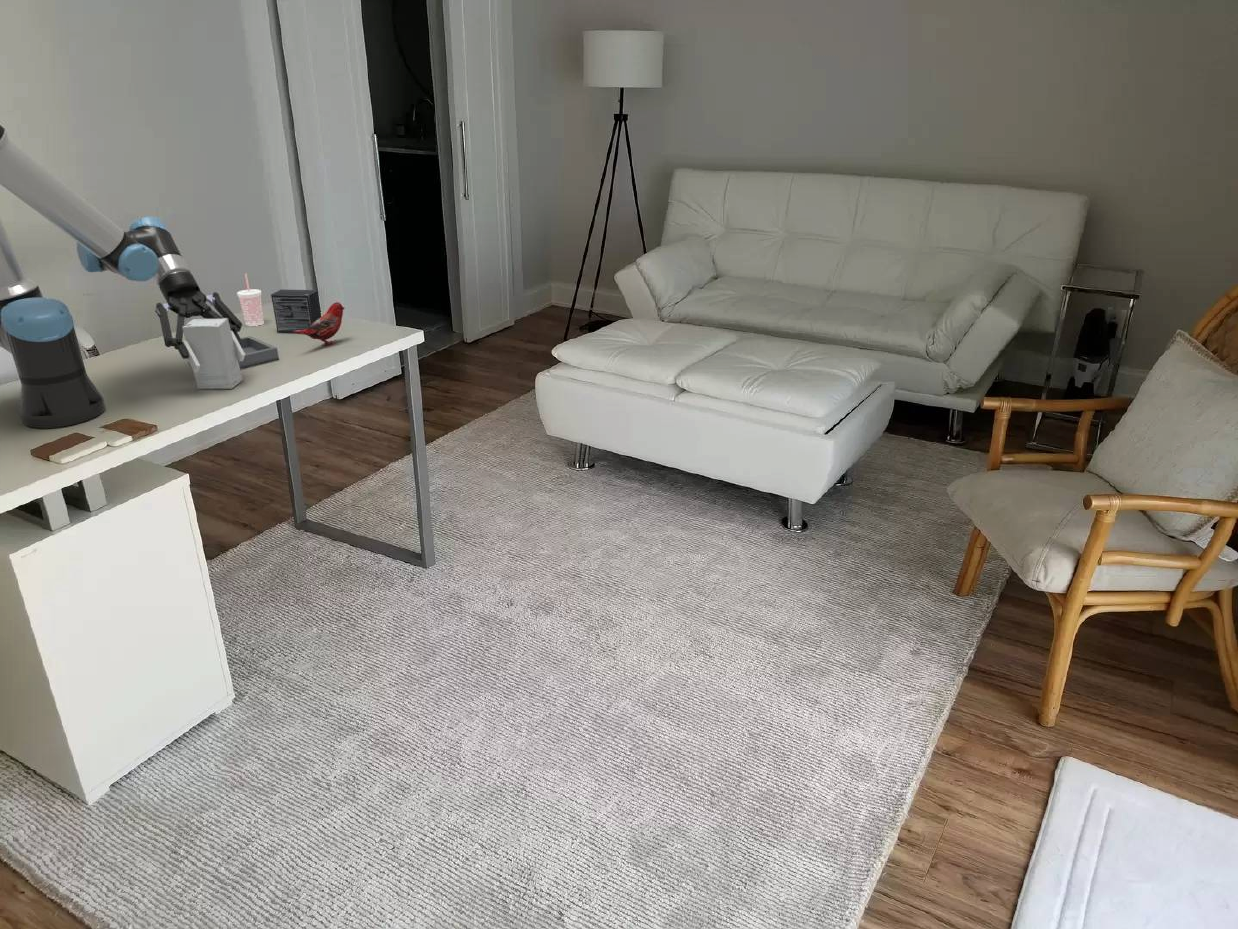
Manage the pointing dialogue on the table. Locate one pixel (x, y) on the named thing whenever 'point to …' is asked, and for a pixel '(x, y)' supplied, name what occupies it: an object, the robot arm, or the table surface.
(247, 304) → the beverage cup
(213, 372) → the skincare box
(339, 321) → the decorative bird figurine
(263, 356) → the tray
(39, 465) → the table surface
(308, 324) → the small box
